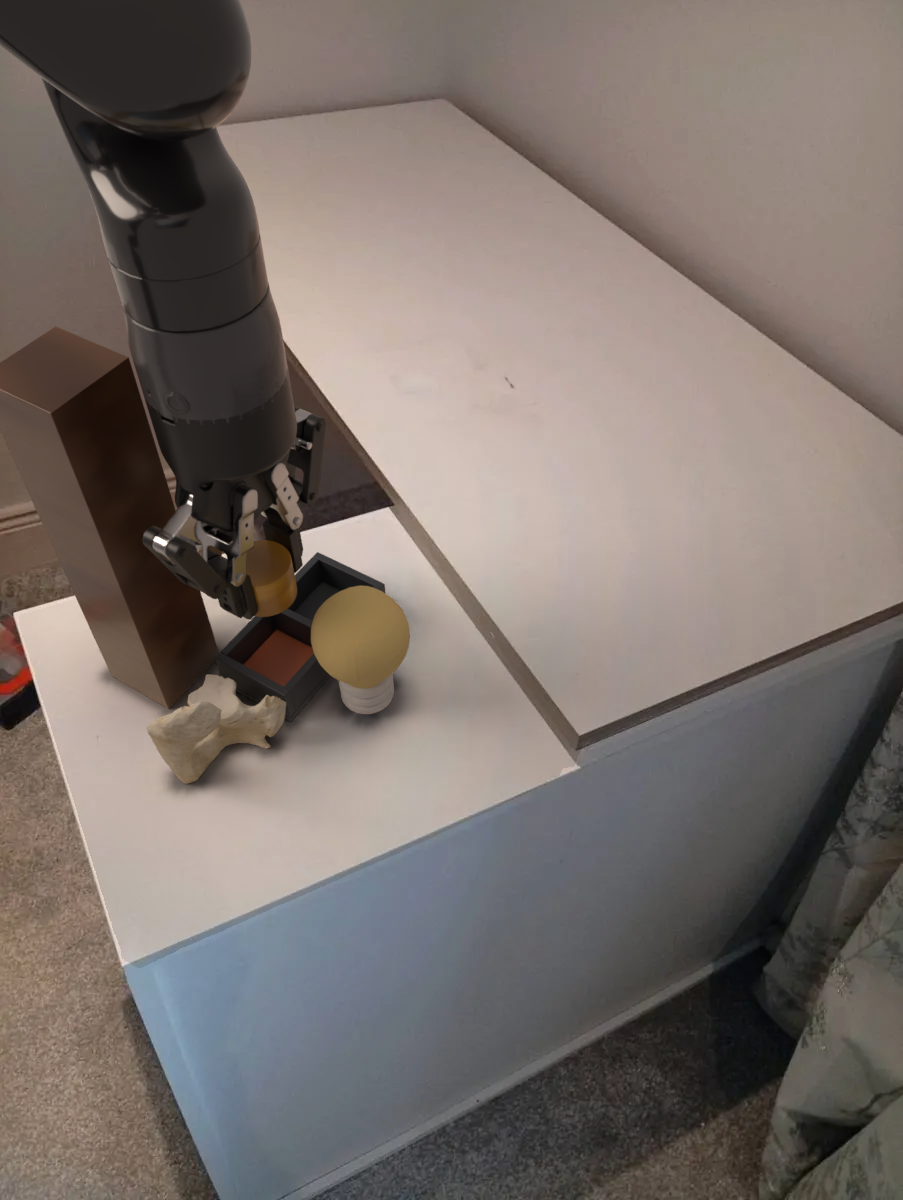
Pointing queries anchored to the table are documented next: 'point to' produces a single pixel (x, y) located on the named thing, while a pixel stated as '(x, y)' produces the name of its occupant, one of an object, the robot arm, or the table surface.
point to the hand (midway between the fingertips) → (264, 587)
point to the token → (271, 577)
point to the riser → (104, 507)
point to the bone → (213, 726)
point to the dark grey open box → (288, 640)
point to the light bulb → (361, 645)
